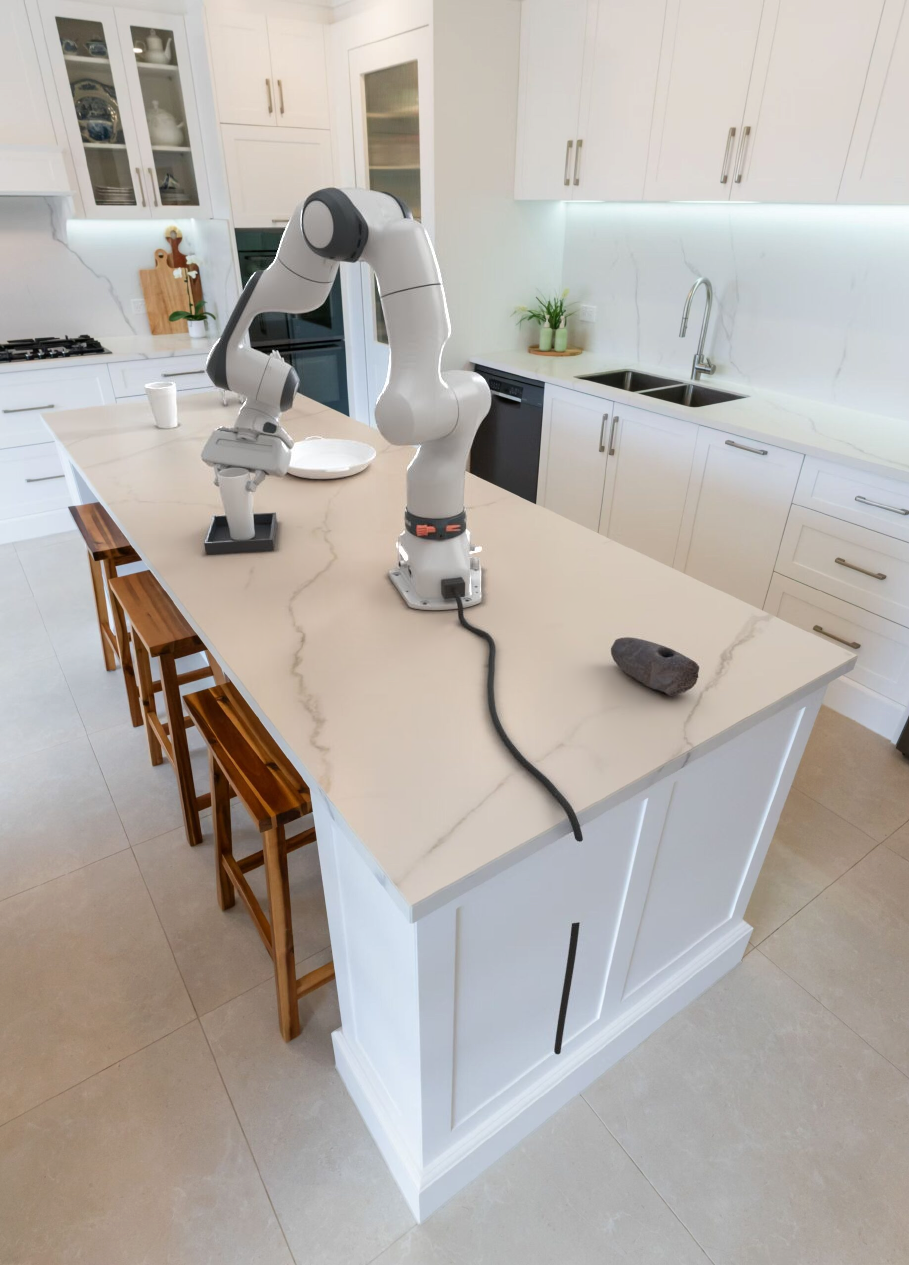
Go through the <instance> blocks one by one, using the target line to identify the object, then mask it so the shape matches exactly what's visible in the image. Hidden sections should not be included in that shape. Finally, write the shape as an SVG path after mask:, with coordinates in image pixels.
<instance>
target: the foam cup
mask: <svg viewBox="0 0 909 1265" xmlns="http://www.w3.org/2000/svg"><path fill="white" fill-rule="evenodd" d="M144 391H145V395H146V396H147V399H148V402H149V406H150V408H151V411H152V414H153V417H154V419H155V420H154V421H155V423H156V426H157V428H159V429H173V428H176V427H178V405H177V404H178V402H177V385H176V383H175V382H171V381H157V382H150V383H146V384H145V385H144Z"/></svg>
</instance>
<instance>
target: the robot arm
mask: <svg viewBox="0 0 909 1265" xmlns="http://www.w3.org/2000/svg"><path fill="white" fill-rule="evenodd" d="M413 216H414V215H413V213H412V211H411V209H410V207H409V205H408V203H406V201H405V200H403V199H402V197H400V196H397V195H396V194H394V193H391V192H388V191H376V190H371V189H366V188H363V187H356V186H355V187H349V186H348V187H339V188H337V187H331V186H330V187H326V188H325V187H324V188H322V189H318V190H316V191H314V192H312V193H311V194H310V195H308V197H307V198H306V199H305V200H303V201H301V202H300V203H299V204H298V205H297V206H296V207H295V209H294V211H293V212H292V215H291V216H290V218H289V221H288V222H287V225H286V227H285V230H284V231H283V234H282V237H281V240H280V243H279V245H278V246H279V247H278V250H277V252H276V256H275V259H274V260H273V262H272V263H271V264H270V265H269V266H268V267H267V268H265V269H259V270H256V271H255V272H253V274H252V275H251V276H250V277H249V279H248V281H247V283H246V285H245V286H244V288H243V291H241V294H240V296H239V298H238V300H237V301H236V304H235V306H234V308H233V310H232V311H231V314H230V317H229V318H228V321H227V322H226V325H225V327H224V330H223V331H222V334H221V336H220V337H219V338H218V340H217V341H216V342H215V343H214V345H213V347H212V348H211V350H210V352H209V354H208V356H207V359H206V366H205V367H206V368H205V371H206V374H207V376H208V377H209V379H210V381H211V383H212V382H213V383H212V385H213V384H214V385H215V386H216V387H219V388H222V389H225V391H226V390H227V391H228V392H233V393H236V394H237V395H238V394H240V395H242V397H245V400H244V402H243V404H242V406H241V407H240V408H239V411H238V414H237V416H236V419H235V422H234V425H233V427H226V426H219V427H218V428H216V429H214V430H212V433H211V435H210V436H209V438H208V439H207V441H206V443H205V444H204V447H203V449H202V451H201V454H200V457H201V461H202V462H204V464H206V465H207V466H208V467H210V468H213V470H214V476H215V477H214V480H213V485H215V486H216V487H217V488H219V484H218V475H217V474H218V472H219V471H221V470H224V469H228V468H245V469H247V470H249V473H250V474H254V475H255V476H253V478H252V479H251V481H247V485H246V490H248V491H250V492H252V493H256V491H257V488H258V486H259V485H261V484H262V483H263V482H264V481H265V480H266V478H267V476H269V477H275V478H276V477H277V478H282V477H285V475H286V474H287V473H288V472H287V470H288V467H289V464H290V460H291V455H292V454H291V450H290V449H292V448H293V446H294V443H295V441H294V439H293V438H292V437H291V436H290V435H289V433H288V432H287V431H286V430H285V429H284V428H283V427H282V426H281V425H280V423H281V422H280V421H281V416H282V415H283V414H284V413H286V412H288V411H289V410H291V409H292V408H293V405H294V400H295V398H296V395H297V394H298V392H299V389H300V386H301V380H300V377H299V375H298V373H297V372H298V371H297V370H296V369H295V367H294V366H292V365H291V364H289V363H287V362H285V361H284V362H283V361H281V360H279V359H277V358H274V357H272V356H270V354H266V353H264V352H262V351H261V352H260V350H258V349H254V348H252V347H250V346H249V345H247V344H246V343H245V342H244V339H245V336H246V334H247V333H248V330H249V328H250V327H251V324H252V323H253V320H254V318H255V317H256V316H258V315H259V314H262V313H286V314H305V313H309V312H312V311H315V310H316V309H319V308H320V307H321V306H323V305H324V304H325V302H326V300H327V298H328V296H329V294H330V292H331V290H332V288H333V285H334V282H335V279H336V276H337V274H338V270H339V266H340V264H341V262H343V263H344V262H345V263H352V264H353V263H354V264H355V263H357V262H360V263H366V264H367V265H369V267H371V269H372V271H373V273H374V277H375V280H376V284H377V289H378V296H379V300H380V304H381V309H382V314H383V319H384V324H385V330H386V336H387V339H388V340H387V342H388V367H387V373H386V374H387V375H386V379H385V383H384V386H383V388H382V390H381V392H380V393H379V396H378V397H377V399H376V401H375V404H374V411H373V412H374V413H373V414H374V422H375V425H376V428H377V430H378V432H379V434H380V435H381V436H382V438H383V439H384V440H385V441H386V442H388V443H389V444H391V445H393V446H396V447H413V446H418V449H417V451H416V453H415V455H414V456H413V457H412V459H411V460H410V461H409V463H408V465H407V468H406V472H405V483H406V484H405V487H406V506H405V507H404V515H403V519H404V527H405V528H404V530H403V531H402V533H400V534H399V535H398V537H397V542H396V548H397V566H396V567H395V568H392V569H391V570H389V572H388V577H389V579H390V580H391V582H392V584H393V585H394V586H395V588H396V589H397V591H398V592H399V594H400V595H401V597H402V598H403V600H404V601H405V603H406V605H407V606H408V607H409V608H411V609H415V610H420V611H421V610H423V611H446V610H448V611H449V610H457V616H458V620H459V622H460V624H461V625H462V626H463V628H465V629H466V630H468V631H470V632H472V633H473V634H475V635H478V636H481V637H483V638H484V639H485V640H486V641H487V642H488V645H489V654H488V672H487V702H488V709H489V713H490V717H491V721H492V723H493V726H494V728H495V730H496V732H497V734H498V736H499V738H500V740H501V741H502V743H503V744H504V746H505V747H506V748H507V750H508V751H509V752H510V754H511V755H512V756H513V757H514V759H515V760H516V761H517V762H518V763H519V764H520V765H521V766H522V767H523V768H524V769H525V770H526V771H527V772H529V774H531V775H532V776H533V777H534V778H535V779H537V780H538V781H539V783H541V784H542V785H543V786H544V787H545V789H547V791H548V792H549V793H550V795H552V797H553V798H554V799H555V800H556V802H558V804H559V805H560V806H561V808H562V809H563V811H564V812H565V814H566V816H567V818H568V819H569V822H570V825H571V829H572V832H573V837H574V839H575V841H576V842H579V843H580V842H582V841H583V840H584V837H583V833H582V829H581V825H580V822H579V819H578V817H577V814H576V812H575V810H574V808H573V807H572V805H571V804H570V802H569V801H568V800H567V798H566V797H565V796H564V795H563V794H562V792H560V790H559V789H558V788H557V787H556V786H555V785H554V784H553V782H552V781H551V780H550V779H548V777H547V776H545V774H544V773H542V772H541V771H540V770H539V769H538V768H536V767H535V766H534V765H533V764H532V763H531V762H530V761H529V760H527V759H526V758H525V757H524V756H523V754H522V753H521V752H520V751H519V749H518V748H517V747H516V746H515V745H514V743H513V742H512V741H511V739H510V738H509V736H508V735H507V733H506V731H505V729H504V728H503V725H502V723H501V721H500V719H499V715H498V713H497V708H496V701H495V700H496V699H495V690H494V689H495V688H494V682H495V671H496V670H495V667H496V666H495V661H496V643H495V640H494V639H493V637H492V635H490V633H488V632H487V631H484V630H482V629H480V628H477V627H474V626H472V625H470V624H469V622H467V620H466V618H465V615H464V609H465V608H470V607H472V606H475V605H478V604H480V603H482V567H481V565H480V558H479V557H472V554H474V553H479V552H482V547H481V546H478V547H476V544H473V543H472V532H471V531H470V530H469V529H467V520H468V519H467V510H466V506H465V482H466V480H465V479H466V469H467V465H468V459H469V455H470V454H471V453H470V452H471V449H472V446H473V442H474V440H475V436H476V434H477V432H478V429H479V428H480V426H481V424H482V422H483V420H484V419H485V418H486V417H487V415H488V414H489V413H490V410H491V406H492V394H491V393H492V392H491V389H490V387H489V384H488V382H487V380H486V379H485V378H484V377H483V376H482V375H481V374H479V373H478V372H475V371H472V370H465V369H464V370H463V369H451V370H446V371H442V372H441V359H442V353H443V351H444V347H445V346H446V344H447V343H448V341H449V339H450V337H451V333H452V326H451V321H450V316H449V311H448V310H449V309H448V305H447V300H446V294H445V289H444V284H443V283H444V282H443V279H442V274H441V269H440V266H439V262H438V259H437V256H436V252H435V250H434V246H433V243H432V240H431V238H430V236H429V233H428V231H427V229H426V227H425V226H424V225H423V224H422V223H421V222H419V221H418V220H416V219H414V217H413ZM219 388H218V389H219ZM580 924H581V922H573V923H571V926H570V937H569V945H568V951H567V952H568V953H567V958H566V960H567V961H566V967H565V973H564V978H563V980H564V981H563V987H562V993H561V999H560V1004H559V1005H560V1006H559V1013H558V1018H557V1025H556V1032H555V1039H554V1042H555V1043H554V1049H553V1052H554V1054H555V1055H560V1054H561V1052H562V1045H563V1037H564V1031H565V1024H566V1018H567V1012H568V1007H569V1006H568V1004H569V1000H570V993H571V987H572V981H573V976H574V969H575V962H576V955H577V947H578V940H579V933H580Z"/></svg>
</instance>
